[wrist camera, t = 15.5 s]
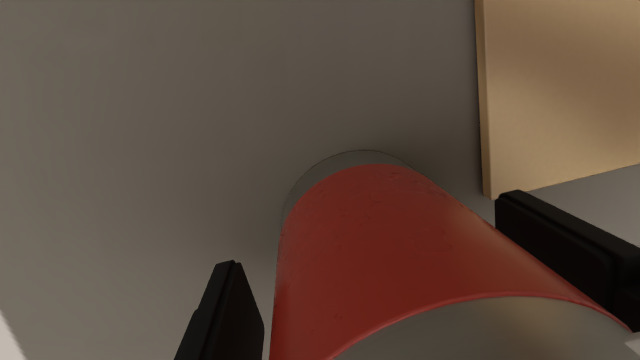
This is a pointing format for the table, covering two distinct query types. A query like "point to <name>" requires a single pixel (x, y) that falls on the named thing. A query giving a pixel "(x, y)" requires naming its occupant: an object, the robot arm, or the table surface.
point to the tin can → (417, 277)
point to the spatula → (556, 90)
